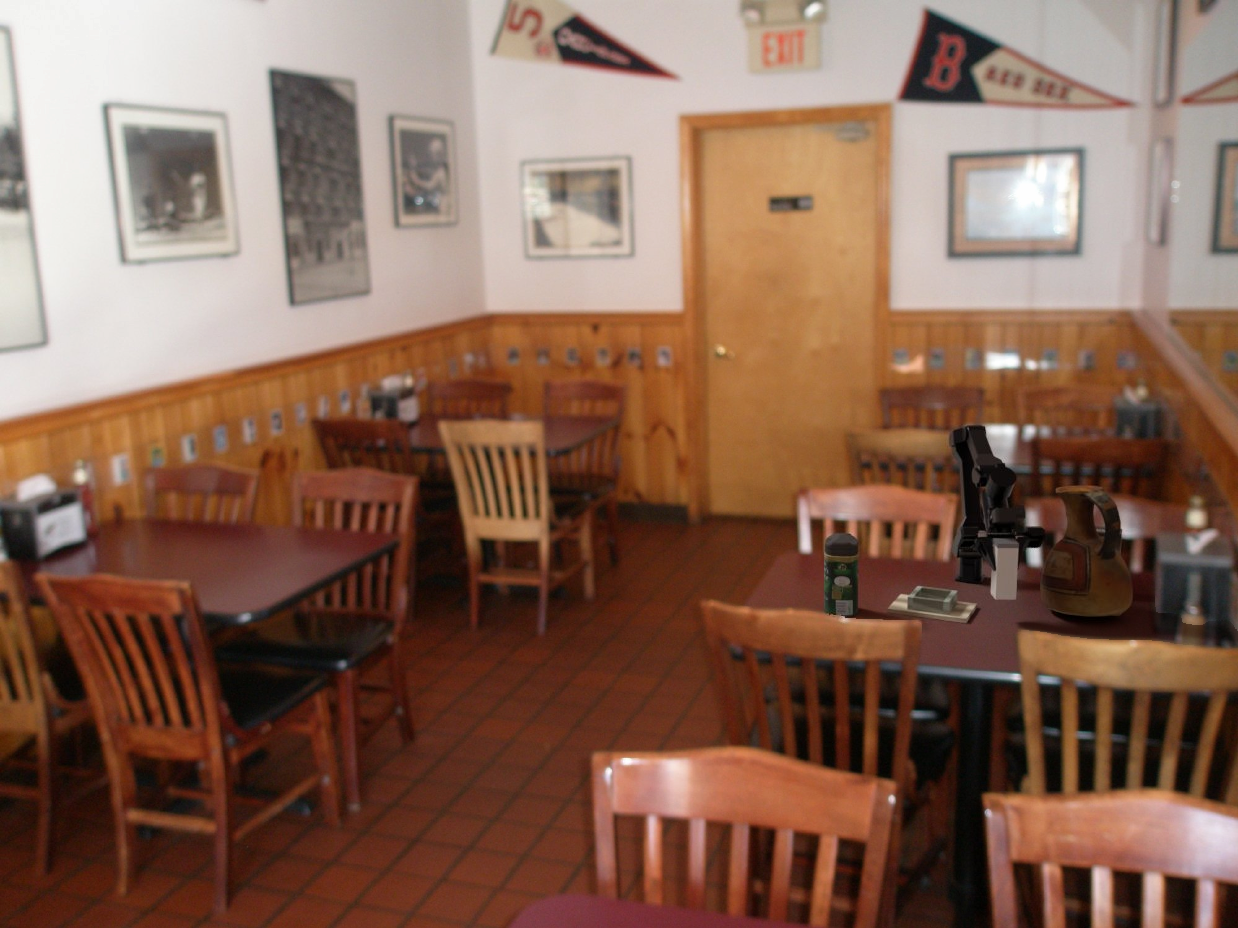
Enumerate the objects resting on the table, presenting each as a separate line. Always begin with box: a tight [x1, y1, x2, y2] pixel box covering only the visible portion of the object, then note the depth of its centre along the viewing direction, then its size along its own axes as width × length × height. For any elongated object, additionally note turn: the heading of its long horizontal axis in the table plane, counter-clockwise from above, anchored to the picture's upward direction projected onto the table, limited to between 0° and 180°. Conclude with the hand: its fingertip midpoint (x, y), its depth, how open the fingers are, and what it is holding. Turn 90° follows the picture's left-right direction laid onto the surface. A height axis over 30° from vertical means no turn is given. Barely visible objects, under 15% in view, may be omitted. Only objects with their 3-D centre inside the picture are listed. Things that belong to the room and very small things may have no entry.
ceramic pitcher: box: [1039, 484, 1134, 618], centre depth 260 cm, size 20×20×30 cm
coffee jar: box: [823, 532, 860, 618], centre depth 266 cm, size 10×8×19 cm
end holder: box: [886, 585, 978, 624], centre depth 267 cm, size 12×18×4 cm, turn 62°
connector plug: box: [990, 538, 1019, 601], centre depth 257 cm, size 5×5×13 cm
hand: (1006, 570), depth 255 cm, fingers closed on connector plug, 4 cm apart
